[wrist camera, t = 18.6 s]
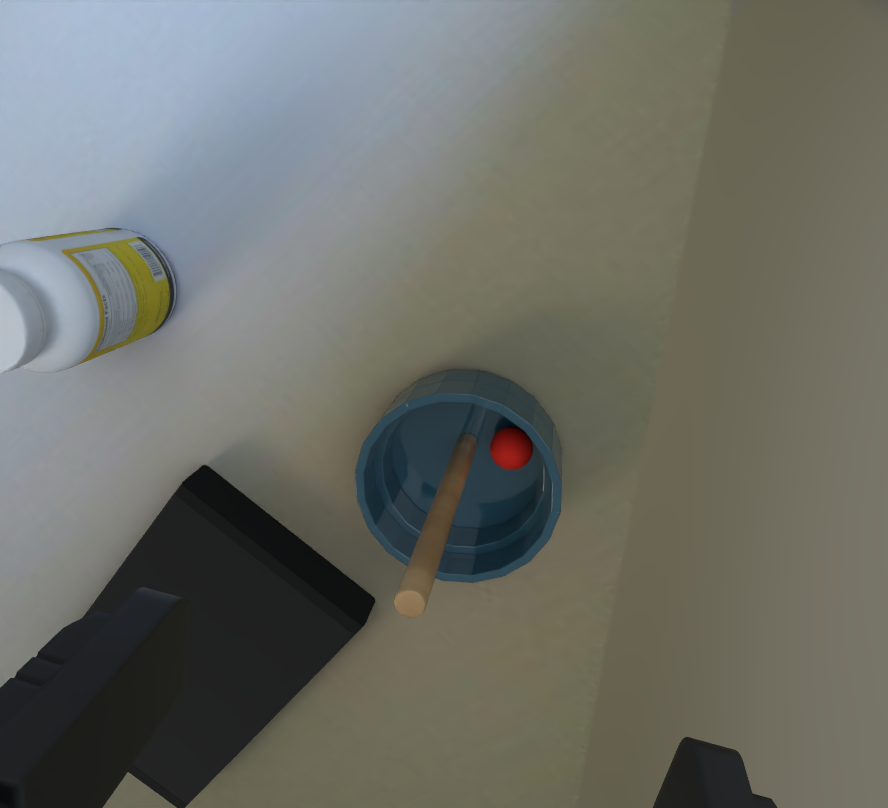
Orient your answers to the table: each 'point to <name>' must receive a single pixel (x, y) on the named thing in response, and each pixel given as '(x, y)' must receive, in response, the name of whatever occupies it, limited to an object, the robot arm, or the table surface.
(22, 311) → the pill bottle
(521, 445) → the ball
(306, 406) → the table surface
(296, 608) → the external hard drive
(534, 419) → the bowl
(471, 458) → the stick
